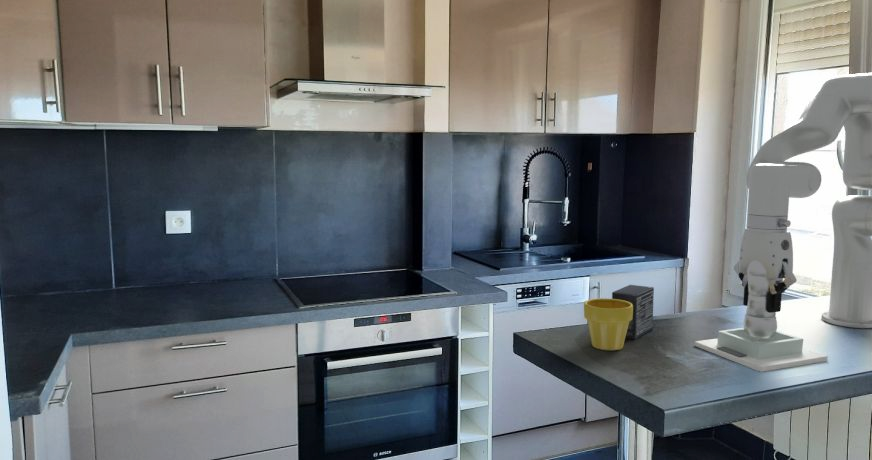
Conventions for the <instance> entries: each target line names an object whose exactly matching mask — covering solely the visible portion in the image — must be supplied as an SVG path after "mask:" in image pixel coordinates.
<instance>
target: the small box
mask: <svg viewBox="0 0 872 460" xmlns="http://www.w3.org/2000/svg"><path fill="white" fill-rule="evenodd" d="M654 289H655V288H654V287H653V286H643V285H635V284H629V285H627V286H623V287H621V288H619V289H617V290H615V291H613V292H611V299H618V300H624V301H628V302H630V303H632V305H633V317H632V320H631V321H629V324H628V328H627V332H626V336H625V339H633V340H637V339H639V338H640V337H643V336H644V335H646V334H648V333H649V332H651V331H653V330H654V295H655V294H654Z"/></svg>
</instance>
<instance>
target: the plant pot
mask: <svg viewBox="0 0 872 460" xmlns="http://www.w3.org/2000/svg"><path fill="white" fill-rule="evenodd" d="M583 316H584V318H585V319H586V320H587V325H588V326H587V327H588V331H589V336H590V341H591V346H592V347H593V348H595V349H597V350H602V351H619V350H622V349H623V347H624V344H625V340H626V337H625V336H626V332H627V328H628V324H629V321H631V320H632V317H633V305H632V303H630V302H628V301H624V300H618V299H612V298H603V297H602V298H599V297H598V298H591V299H588V300H585V301H584V303H583Z"/></svg>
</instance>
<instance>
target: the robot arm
mask: <svg viewBox="0 0 872 460" xmlns="http://www.w3.org/2000/svg"><path fill="white" fill-rule="evenodd" d="M843 127H844V133H845V134H844V135H845V137H844V138H845V139H844V151H843V152H844V153H843V163H842V180H843V183H844V185H845V186H846V187H848V188H850V189H852V190H853V189H854V190H855V189H856V190H861V191H862V190H863V191H872V72H868V73H867V72H865V73H864V72H863V73H855V74H854V73H853V74H842V75H840V74H839V75H835V76H830V77H827V78H825V79H824V80H823V81H821V82H820V83H819V84H818V86H817V87H816V89H815V91H814V93H813V94H812V96H811V98H810V99H809V101H808V103H807V105H806V107H805V108H804V110H803V112H802V114H801V115H800V117H799V118H798V120H797V121H796V123H794V124H792V125H790V126H788V127H786V128H785V129H783V130H781V131H780V132H778V133H777V134H775V135H774V136H773V137H771V138H769V139H768V140H767V141H766V142H764V143H763V144H762V146H761V147H759V148H758V150H757V152H756V154H755V155H754V158H753V159H752V161H751V163H750V164H749V167H748V169H747V171H746V177H745V182H746V187H747V189H748V197H747V198H748V200H747V214H746V215H747V216H746V217H747V218H746V227H744V231H743V235H742V238H741V243H740V248H739V249H740V250H739V258H738V259H739V260H738V262H737V263H736V264H735V265H734V266H733V270H734V271H735V273H736V274H737V275H738V278H739V280H740V281H741V286H742V287H743V306H745V307H747V303H748V294H749V293H748V278H747V267H748V264H749V263H750V262H751V261H754V260H756V261H759V262H760V263H761V264H762V265H763V266H764V267H765V269H766V273H767V276H766V278H768V279H770V282H769V287H770V292H771V293H768V297H767V312H769V313H772V312H776V313H778V312H781V308H782V295H783V294H784V293H785V292H786V291H787V289H789V288H790V287H791V286H793V285H794V284H795V283H796V282H797V278H796V275H795V274H794V273H793V272H794V271H793V270H794V251H793V250H794V249H793V240H792V234H791V231H788V227H790V226H791V223H792V222H791V221H790V220H788V219H789V218H788V217H789V202H790V199H795V198H796V199H803V198H804V199H805V198H810V197H811V196H813V195H815V194H816V193H817V192H818V191H819V189H820V187H821V185H822V174H821V172H820V169H819V168H817V167H816V165H814V164H812V163H809V162H805V161H802V162H801V161H787V160H789V159H790V158H794V157H797V156H799V155H803V154H806V153H810V152H813V151H816V150H819V149H822V148H824V147H827V146H829V145H831V144H832V143H834V142H835V141H836V140H837V138H838V136H839V135H840V132H841V130H842V128H843ZM831 221H832V227H833V256H832V257H833V258H832V267H831V281H830V282H831V283H830V293H829V304H828V305H829V307H828V311H825V312H822V313H821V320H822V321H824V322H826V323H828V324H832V325H834V326H835V325H836V326H839V327H846V328H853V329H872V238H871V237H872V195H862V194H861V195H860V194H854V195H853V194H852V195H845V196H842V197H840V198H839V199H837V200H836V201H835V202H834V204H833V206H832V209H831ZM775 281H777V286H776V283H775Z"/></svg>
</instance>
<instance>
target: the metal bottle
mask: <svg viewBox="0 0 872 460" xmlns="http://www.w3.org/2000/svg"><path fill="white" fill-rule="evenodd" d="M766 276H767V273H766V269H765V267H764V266H763V265H762V264H761V263H760V262H759V261H756V260H754V261H751V262H750V263H749V264H748V267H747V278H748V293H749V294H748V303H747V306H746V309H745V310H746V312H745V314H744V317H743V318H744V319H743V322H742V323H743V328H744V331H745V333H746V334H747V335H749V336H752V337H756V338H772V337H773V336H774V335H775V334H776V331H778V330H777V329H778V322H777V317H776V316H777V315H776V313H777V312H772V313H769V312H767V297H768V293H771V292H770V287H769V282H770V279H768V278H766ZM775 283H776V286H777V281H775Z"/></svg>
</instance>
